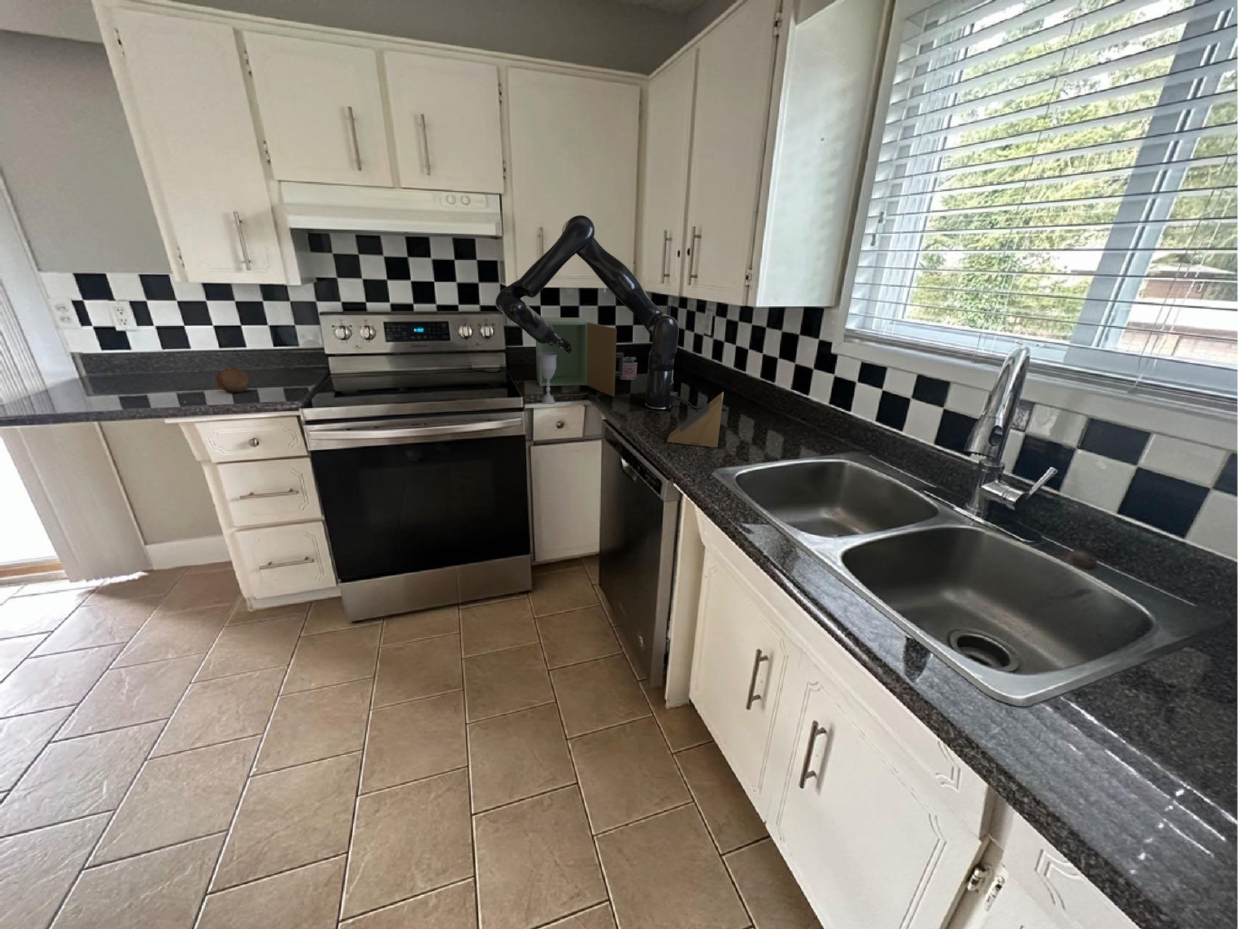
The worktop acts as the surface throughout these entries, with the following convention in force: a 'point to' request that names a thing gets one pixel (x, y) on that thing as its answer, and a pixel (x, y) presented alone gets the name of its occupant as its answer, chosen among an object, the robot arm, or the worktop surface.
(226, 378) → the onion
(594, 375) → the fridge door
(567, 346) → the robot arm
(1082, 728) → the worktop surface
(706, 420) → the sandwich container
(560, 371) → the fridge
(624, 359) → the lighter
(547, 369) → the chalice
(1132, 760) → the worktop surface
